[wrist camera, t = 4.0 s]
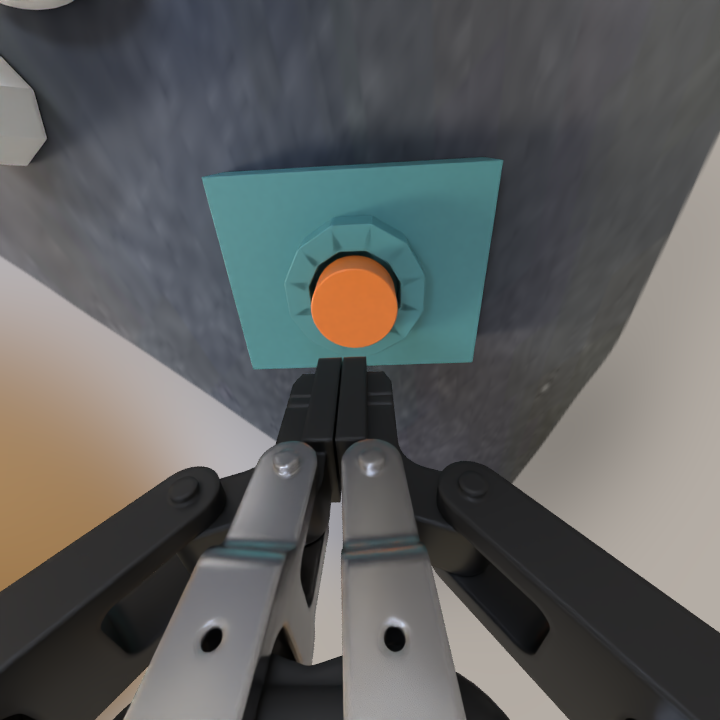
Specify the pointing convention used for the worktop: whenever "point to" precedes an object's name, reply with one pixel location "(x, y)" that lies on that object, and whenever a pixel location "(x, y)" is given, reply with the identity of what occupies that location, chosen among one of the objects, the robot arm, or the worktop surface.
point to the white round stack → (35, 4)
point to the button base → (358, 253)
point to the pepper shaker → (18, 119)
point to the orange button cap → (354, 302)
